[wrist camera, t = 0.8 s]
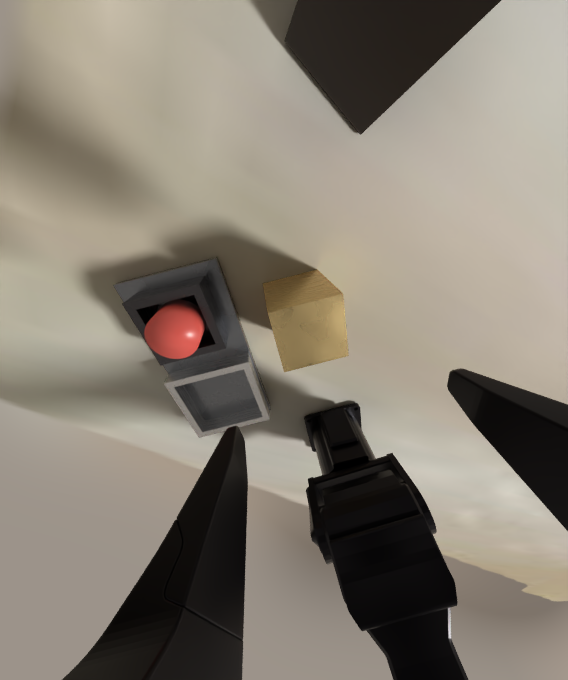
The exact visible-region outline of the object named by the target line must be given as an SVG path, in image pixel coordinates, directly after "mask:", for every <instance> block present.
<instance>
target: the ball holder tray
mask: <svg viewBox="0 0 568 680" xmlns="http://www.w3.org/2000/svg"><path fill="white" fill-rule="evenodd" d="M113 286H114V287H115V289H116V291H117V292H118V294H119V295H120V297H121V299H122V300H123V302H124V303H122V305H123V306H124V308H125V309H126V311H127V312H128V314H129V316H130V317H131V319H132V320H133V322H134V324H135V325H136V327H137V328H138V330H139V332H140V333H141V335H142V336H143V338H144V339H145V335H144V331H145V327H146V325H147V323H148V322H149V320H150V319H151V318H152V317H153V316H154V315H155V314H156V313H157V311H158V310H159V309H160V308H161V307H162V306H163V305H164V304H165V303H167V302H168V301H172V300H176V299H181V300H186V301H189V302H192V303H193V304H195V305H196V306H198V307H199V308H200V310H201V312H202V314H203V316H204V319H205V321H206V327H205V330H204V333H203V335H202V338H201V341H200V344H199V346H198V348H197V350H196V351H195V352H194V353H193V354H192V355H190V356H188V357H186V358H181V359H171V358H167V357H164V356H161V355H159V354H158V353H156V352H155V351H153V350H152V349H151V348H150V349H151V351H152V352H153V354H154V355H155V357H156V358H157V360H158V362H159V363H160V365H163V366H164V368H165V369H166V371H167V372H168V376H167V378H166V380H165V382H164V385H165V387H166V388H167V390H168V391H169V393H170V394H171V396H172V397H173V399H174V400H175V402H176V403H177V405H178V406H179V408H180V409H181V411H182V412H183V414H184V415H185V417H186V419H187V420H188V422H189V423H190V425H191V426H192V428H193V429H194V431H195V432H196V434H197V435H198V437H203V436H207V435H211V434H215V433H219V432H223V431H226V429H227V428H229V427H232V426H238V427H242V426H246V425H250V424H254V423H258V422H262V421H266V420H270V414H269V410H271V409H270V404H269V401H268V398H267V396H266V393H265V390H264V387H263V384H262V382H261V379H260V376H259V373H258V370H257V368H256V365H255V362H254V359H253V356H252V354H251V351H250V348H249V345H248V342H247V340H246V337H245V334H244V331H243V329H242V326H241V323H240V320H239V317H238V315H237V312H236V309H235V306H234V303H233V301H232V298H231V295H230V292H229V289H228V287H227V284H226V281H225V278H224V275H223V273H222V270H221V267H220V264H219V261H218V259H217V257H216V258H212V259H209V260H205V261H201V262H197V263H193V264H189V265H185V266H181V267H177V268H174V269H170V270H166V271H162V272H158V273H154V274H150V275H146V276H142V277H139V278H135V279H131V280H127V281H123V282H119V283H116V284H115V285H113ZM145 341H146V339H145ZM146 343H147V342H146ZM148 346H149V345H148ZM149 347H150V346H149Z"/></svg>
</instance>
